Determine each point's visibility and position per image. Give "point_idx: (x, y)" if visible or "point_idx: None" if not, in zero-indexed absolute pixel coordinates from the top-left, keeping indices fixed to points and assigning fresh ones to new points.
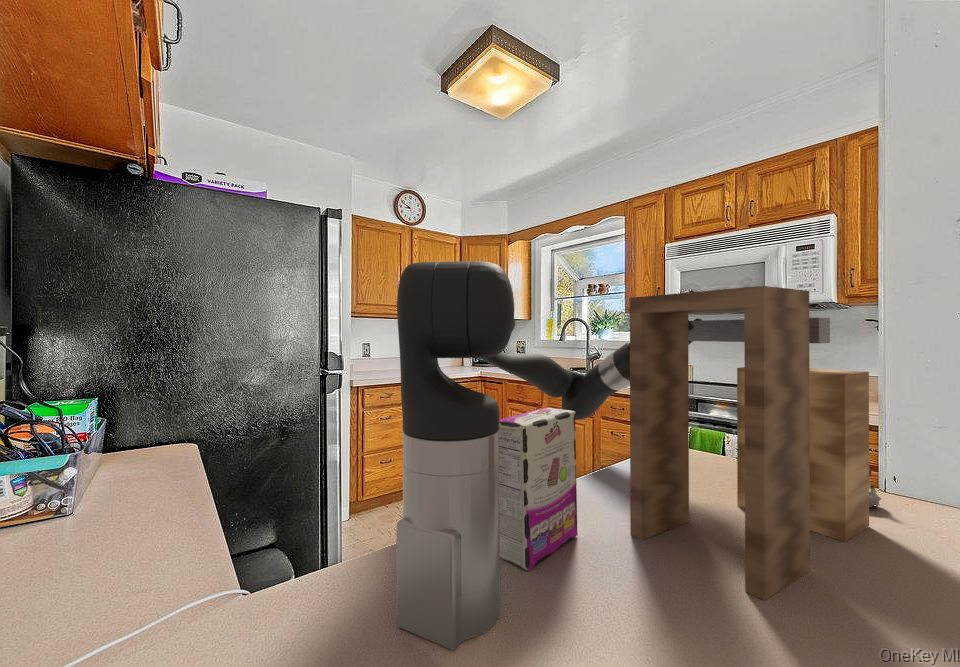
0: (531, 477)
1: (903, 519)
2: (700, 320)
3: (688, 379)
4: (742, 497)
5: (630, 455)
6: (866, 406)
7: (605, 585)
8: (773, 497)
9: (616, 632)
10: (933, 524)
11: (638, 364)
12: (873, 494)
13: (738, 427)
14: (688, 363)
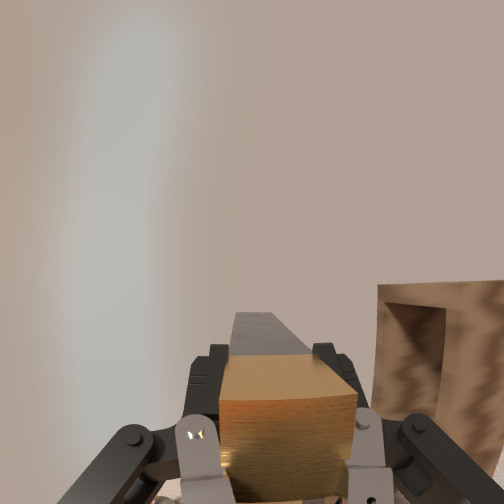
0: None
1: (172, 495)
2: (303, 343)
3: (435, 412)
4: None
5: (494, 470)
6: None
7: (499, 482)
8: None
9: (498, 460)
10: (166, 485)
11: None
12: (160, 497)
13: (301, 500)
14: (439, 388)
